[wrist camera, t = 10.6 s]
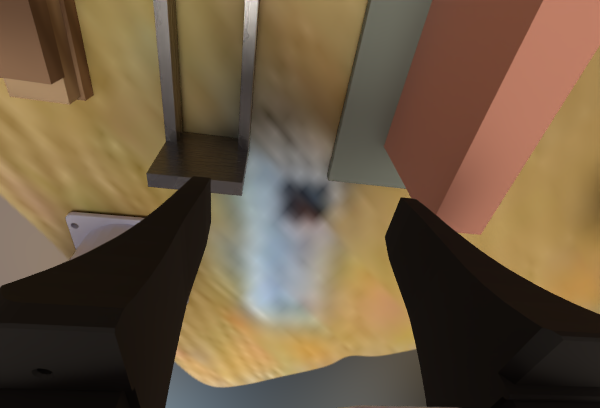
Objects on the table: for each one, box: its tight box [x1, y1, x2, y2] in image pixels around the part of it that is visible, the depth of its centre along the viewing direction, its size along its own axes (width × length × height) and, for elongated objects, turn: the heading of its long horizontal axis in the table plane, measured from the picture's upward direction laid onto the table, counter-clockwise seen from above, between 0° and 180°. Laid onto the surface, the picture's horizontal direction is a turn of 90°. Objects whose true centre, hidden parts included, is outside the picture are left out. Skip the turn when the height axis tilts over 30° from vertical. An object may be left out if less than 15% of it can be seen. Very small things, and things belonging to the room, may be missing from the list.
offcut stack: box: [0, 0, 94, 104], centre depth 15 cm, size 8×3×4 cm, turn 171°
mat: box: [327, 0, 432, 189], centre depth 19 cm, size 16×8×1 cm, turn 171°
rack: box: [146, 0, 260, 196], centre depth 15 cm, size 14×5×5 cm, turn 171°
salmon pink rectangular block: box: [384, 0, 600, 235], centre depth 15 cm, size 10×2×8 cm, turn 171°
